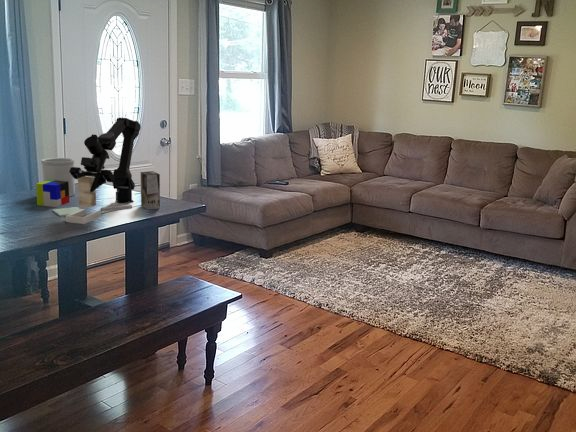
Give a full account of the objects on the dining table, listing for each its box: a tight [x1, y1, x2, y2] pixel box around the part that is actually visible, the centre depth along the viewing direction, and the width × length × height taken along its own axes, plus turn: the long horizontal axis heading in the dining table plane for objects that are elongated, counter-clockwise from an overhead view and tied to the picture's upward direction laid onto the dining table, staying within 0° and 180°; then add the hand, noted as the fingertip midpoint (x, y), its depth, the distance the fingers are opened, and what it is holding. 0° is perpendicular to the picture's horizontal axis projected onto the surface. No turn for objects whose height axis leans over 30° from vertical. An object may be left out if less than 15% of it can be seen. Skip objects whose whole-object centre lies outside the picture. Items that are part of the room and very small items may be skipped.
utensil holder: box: [40, 157, 76, 198], centre depth 289 cm, size 15×15×18 cm
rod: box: [100, 204, 133, 212], centre depth 268 cm, size 14×2×2 cm, turn 127°
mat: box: [51, 206, 83, 217], centre depth 260 cm, size 11×11×1 cm
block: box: [77, 176, 97, 208], centre depth 250 cm, size 5×5×12 cm
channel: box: [64, 208, 102, 225], centre depth 249 cm, size 13×8×2 cm, turn 168°
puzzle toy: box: [35, 180, 70, 208], centre depth 272 cm, size 10×10×10 cm
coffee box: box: [140, 170, 161, 210], centre depth 273 cm, size 9×6×16 cm
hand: (85, 191), depth 249 cm, fingers closed on block, 5 cm apart
